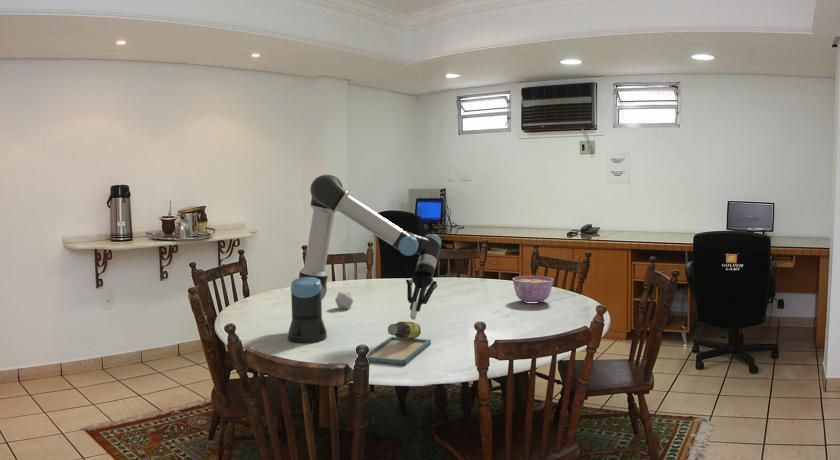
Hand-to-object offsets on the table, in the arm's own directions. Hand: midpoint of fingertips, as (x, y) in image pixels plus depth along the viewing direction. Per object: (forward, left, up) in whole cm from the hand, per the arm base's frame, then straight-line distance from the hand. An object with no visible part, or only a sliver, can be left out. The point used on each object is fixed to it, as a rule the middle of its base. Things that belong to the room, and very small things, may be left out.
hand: (412, 317), depth 247 cm
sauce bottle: (+1, +2, -6) cm, 6 cm away
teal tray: (-10, -11, -10) cm, 18 cm away
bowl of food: (+81, +47, -10) cm, 94 cm away
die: (-9, +69, -10) cm, 70 cm away
